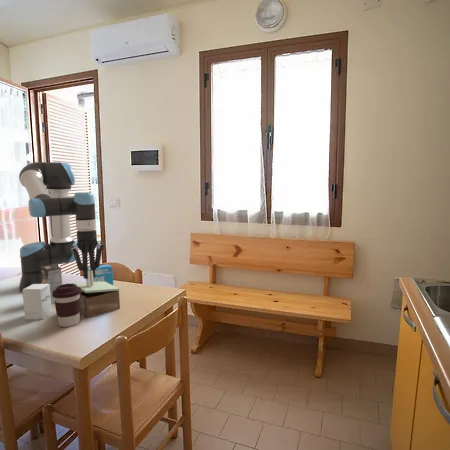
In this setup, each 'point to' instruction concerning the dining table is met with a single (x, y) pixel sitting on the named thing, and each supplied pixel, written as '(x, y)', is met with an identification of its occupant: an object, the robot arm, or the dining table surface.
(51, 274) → the coffee box
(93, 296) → the box
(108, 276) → the data package
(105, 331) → the dining table surface
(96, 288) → the lid
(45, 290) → the supplement box
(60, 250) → the robot arm
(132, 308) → the dining table surface
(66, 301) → the coffee cup
